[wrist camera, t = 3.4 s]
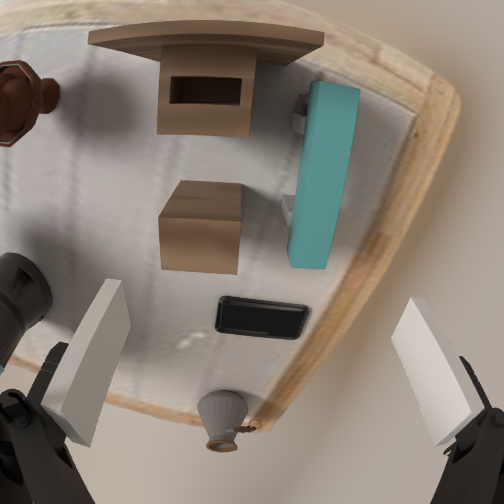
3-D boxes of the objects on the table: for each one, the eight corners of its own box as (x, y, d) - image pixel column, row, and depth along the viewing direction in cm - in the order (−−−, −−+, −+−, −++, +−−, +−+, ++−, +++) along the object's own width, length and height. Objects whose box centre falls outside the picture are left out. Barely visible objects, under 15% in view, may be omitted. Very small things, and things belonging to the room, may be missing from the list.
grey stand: (315, 211, 41) (326, 230, 36) (280, 208, 41) (286, 227, 36) (331, 118, 35) (346, 124, 30) (292, 112, 34) (301, 116, 29)
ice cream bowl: (87, 72, 30) (17, 75, 17) (56, 143, 34) (-11, 176, 21) (37, 50, 27) (-34, 52, 14) (11, 118, 31) (-57, 142, 18)
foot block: (238, 225, 42) (237, 274, 32) (180, 221, 41) (161, 269, 31) (241, 183, 39) (241, 222, 29) (180, 180, 38) (158, 217, 28)
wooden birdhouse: (279, 126, 35) (309, 157, 20) (151, 120, 34) (85, 149, 19) (286, 58, 31) (324, 32, 15) (155, 53, 30) (89, 31, 14)
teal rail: (311, 233, 42) (327, 269, 34) (280, 231, 42) (289, 267, 34) (335, 88, 32) (362, 90, 24) (299, 82, 32) (317, 80, 24)
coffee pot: (235, 414, 68) (235, 467, 55) (191, 403, 65) (186, 458, 52) (278, 369, 58) (286, 433, 45) (226, 354, 56) (224, 422, 43)
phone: (219, 297, 48) (310, 308, 49) (219, 293, 48) (309, 304, 50) (214, 332, 51) (297, 340, 53) (214, 327, 52) (296, 336, 54)
